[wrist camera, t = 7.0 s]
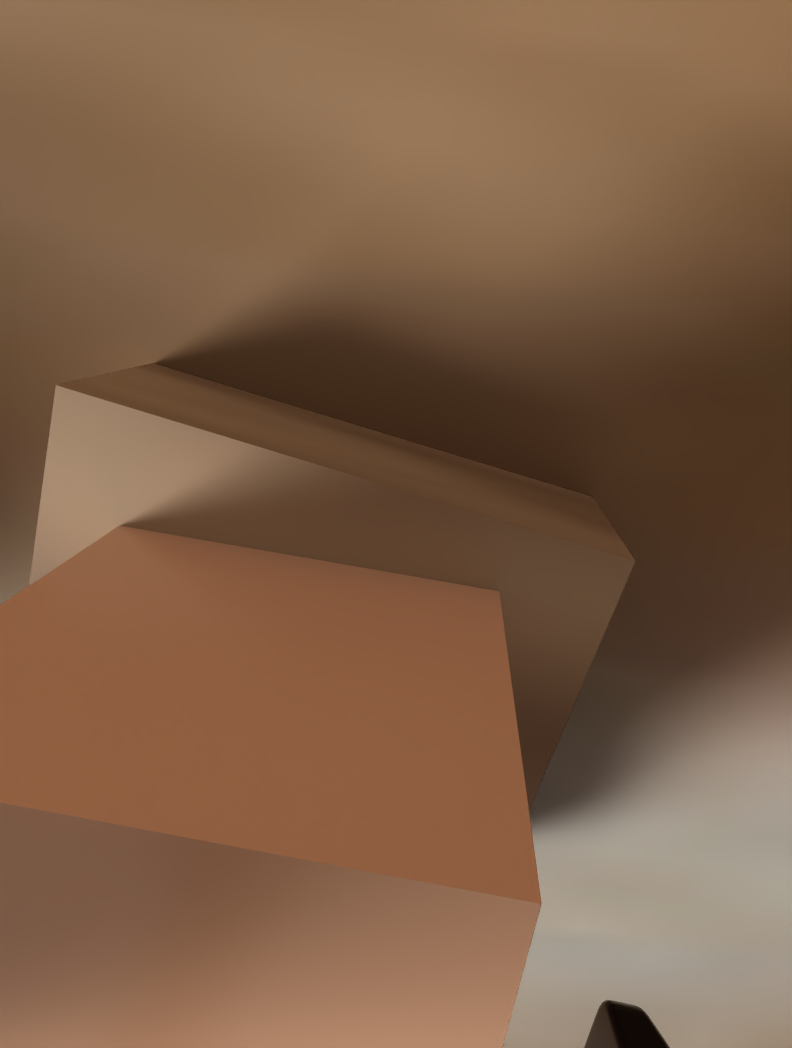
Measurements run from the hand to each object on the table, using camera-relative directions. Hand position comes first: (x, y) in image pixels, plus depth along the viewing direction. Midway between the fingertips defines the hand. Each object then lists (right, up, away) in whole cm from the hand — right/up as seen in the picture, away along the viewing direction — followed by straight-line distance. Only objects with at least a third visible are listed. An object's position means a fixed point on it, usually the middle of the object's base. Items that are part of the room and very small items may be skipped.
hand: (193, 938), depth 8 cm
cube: (0, +1, +4) cm, 4 cm away
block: (+1, +2, +8) cm, 8 cm away
